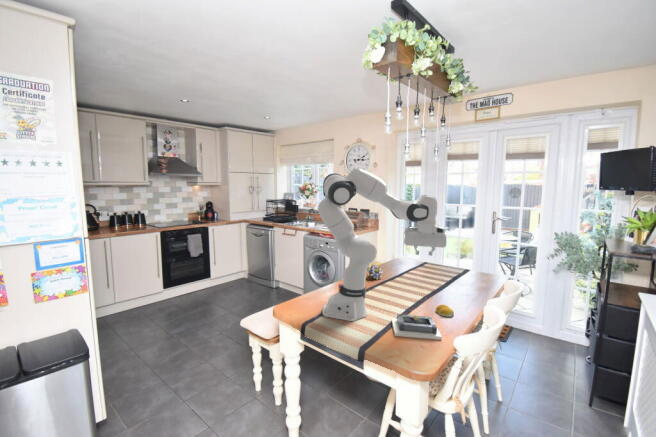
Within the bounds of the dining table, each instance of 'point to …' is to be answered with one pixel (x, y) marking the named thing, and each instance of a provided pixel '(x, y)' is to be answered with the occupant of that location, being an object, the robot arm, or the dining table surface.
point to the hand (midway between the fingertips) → (423, 254)
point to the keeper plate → (414, 334)
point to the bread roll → (444, 311)
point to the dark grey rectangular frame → (423, 324)
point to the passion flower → (375, 271)
